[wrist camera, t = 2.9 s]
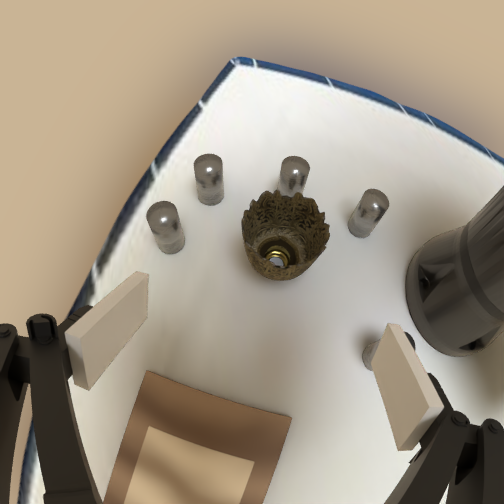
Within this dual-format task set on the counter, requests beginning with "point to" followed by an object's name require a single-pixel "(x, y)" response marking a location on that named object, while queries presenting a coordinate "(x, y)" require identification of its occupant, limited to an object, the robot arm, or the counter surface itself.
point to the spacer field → (290, 182)
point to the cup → (284, 234)
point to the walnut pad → (194, 448)
